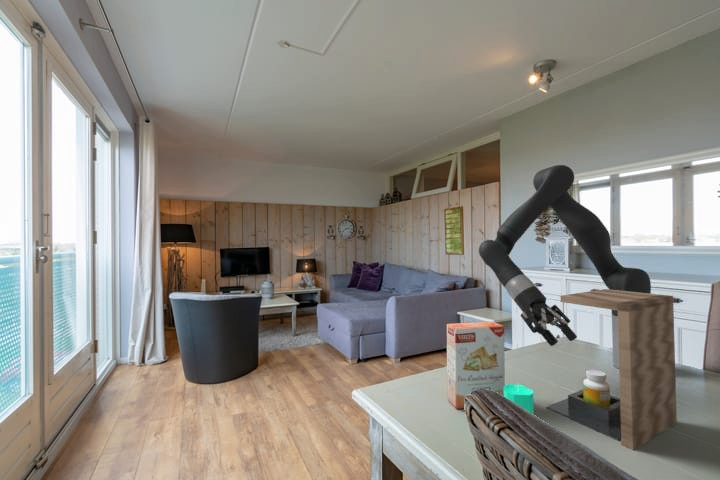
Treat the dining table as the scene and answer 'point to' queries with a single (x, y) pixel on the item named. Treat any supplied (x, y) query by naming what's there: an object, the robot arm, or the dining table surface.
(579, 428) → the dining table surface
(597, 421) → the socket
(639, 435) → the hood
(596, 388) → the supplement bottle
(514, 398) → the candle
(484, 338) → the cracker box
